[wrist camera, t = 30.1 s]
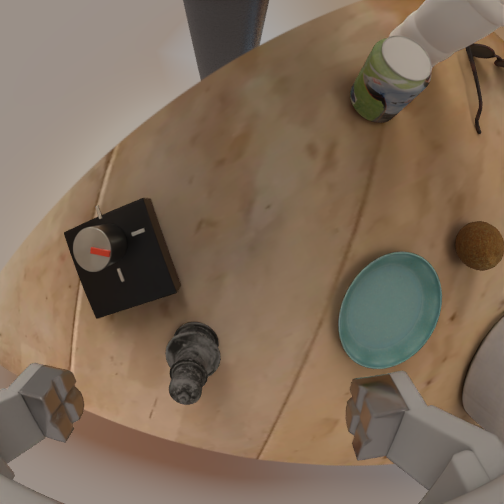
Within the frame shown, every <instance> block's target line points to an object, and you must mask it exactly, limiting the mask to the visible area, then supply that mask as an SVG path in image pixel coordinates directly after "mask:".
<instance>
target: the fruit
mask: <svg viewBox="0 0 504 504" xmlns="http://www.w3.org/2000/svg"><path fill="white" fill-rule="evenodd" d="M456 251H457V255H458V256H459V258H460V259H461V260H462V262H463V263H464V264H465V265H466V266H468V267H470V268H472V269H475V270H480V271H483V270H488V269H491V268H493V267H495V266H496V265H497V264H498V263H499V262H500V261H501V259H502V257H503V253H504V241H503V238H502V236H501V234H500V232H499V231H498V230H497V229H496V228H495V227H494V226H492V225H490V224H488V223H486V222H482V221H478V222H472V223H469V224H467V225H466V226H464V227H463V228H462V229H461V230H460V231H459V233H458V235H457V238H456Z"/></svg>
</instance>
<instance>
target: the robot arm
mask: <svg viewBox="0 0 504 504" xmlns="http://www.w3.org/2000/svg"><path fill="white" fill-rule="evenodd" d="M75 384H76V379H75V377H74V375H73V373H72V372H71V371H69V370H65V369H61V368H56V367H52V366H48V365H42V364H38V363H32V364H30V365H29V366H28V367H27V368H26V369H25V370H24V371H23V372H22V373H21V374H20V375H19V376H18V378H17V379H16V380H15V381H14V382H13V383H12V384H11V385H10V386H9V387H8V388H7V389H5V388H3V389H1V390H0V504H64V503H61V502H59V501H57V500H54V499H52V498H49V497H47V496H45V495H43V494H40V493H38V492H36V491H34V490H32V489H30V488H28V487H25V486H24V485H22V484H20V483H18V482H16V481H14V480H13V478H14V476H15V475H14V472H13V471H12V470H11V469H10V467H9V466H8V465H7V463H9V462H10V461H12V460H13V459H15V458H16V457H18V456H19V455H21V454H22V453H24V452H25V451H27V450H28V449H30V448H31V447H33V446H34V445H36V444H37V443H39V442H40V441H41V440H43V439H44V438H45V437H48V438H51V439H54V440H57V441H61V442H64V443H65V442H66V441H67V439H68V438H69V436H70V435H71V433H72V431H73V429H74V427H73V423H74V422H76V421H78V420H79V419H80V418H81V416H82V414H83V410H84V400H83V396H82V394H81V392H80V391H79V390H78V389H77V388H76V387H75ZM350 392H351V395H352V397H351V398H350V399H349V400H348V401H347V406H346V424H347V428H348V431H349V432H350V433H351V434H353V435H354V439H353V442H352V445H353V448H354V451H355V454H356V457H357V461H358V460H365V459H371V458H377V457H382V456H387V458H388V459H389V460H391V461H392V462H393V463H394V464H396V465H397V466H398V467H399V468H401V469H402V470H403V471H404V472H406V473H407V474H408V475H409V476H411V477H412V478H413V479H415V480H416V481H417V482H418V483H420V484H421V485H422V486H424V487H425V488H426V489H427V490H429V491H428V492H427V493H426V495H425V496H424V497H423V499H422V500H421V501H420V502H419V504H504V445H503V444H502V442H501V441H500V439H499V438H498V437H497V435H495V434H493V433H490V432H488V431H486V430H484V429H481V428H479V427H477V426H475V425H473V424H471V423H468V422H466V421H464V420H462V419H460V418H458V417H456V416H454V415H452V414H449V413H447V412H445V411H443V410H441V409H439V408H437V407H435V406H433V405H430V406H427V404H426V403H425V401H424V400H423V398H422V396H421V395H420V393H419V392H418V390H417V389H416V387H415V385H414V384H413V382H412V381H411V379H410V378H409V376H408V375H407V373H406V372H404V371H398V372H393V373H387V374H383V375H377V376H370V377H362V378H355V379H353V380H352V382H351V386H350Z"/></svg>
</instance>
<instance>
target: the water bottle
mask: <svg viewBox="0 0 504 504" xmlns="http://www.w3.org/2000/svg"><path fill="white" fill-rule="evenodd" d="M500 26H504V0H425V2H424V3H423V4H422V5H421V6H420V7H419V8H418V10H417V11H414V12H413V13H411V14H410V15H409V16H408V17H407V18H406V19H405V20H404V22H403V23H402V24H400V25H399V26H397V27H396V28H395V29H394V30H393V31H392V32H391V33H390V35H389V37H391V36H396V35H398V36H404V37H407V38H410V39H412V40H414V41H415V42H417V43H418V44H419V45H420V46H421V47H422V48H423V49H424V50H425V51H426V52H427V54H428V56H429V58H430V60H431V64H432V67H434V66H435V65H436V64H437V63H438V62H441V61H443V60H445V59H447V58H449V57H450V56H451V55H452V54H453V53H454V52H456V51H459V50H461V49H463V48H465V47H467V46H469V45H471V44H473V43H475V42H477V41H479V40H480V39H482V38H484V37H485V36H487V35H489V34H490V33H492V32H493V31H495V30H496V29H497V28H499V27H500Z"/></svg>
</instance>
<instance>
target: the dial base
mask: <svg viewBox="0 0 504 504" xmlns="http://www.w3.org/2000/svg"><path fill="white" fill-rule="evenodd" d="M95 207H96V210H97V214H98V217H97V218H94V219H92V220H90V221H88V222H86V223H83V224H81V225H79V226H77V227H75V228H73V229H70V230H68V231H66V232H64V235H65V238H66V241H67V244H68V247H69V250H70V253H71V256H72V259H73V262H74V264H75V267H76V270H77V273H78V275H79V278H80V280H81V283H82V286H83V288H84V291H85V293H86V296H87V298H88V300H89V303H90V305H91V307H92V310H93V312H94V314H95V317H96V319H97V318H100V317H104V316H107V315H110V314H113V313H116V312H119V311H122V310H125V309H129V308H132V307H135V306H138V305H141V304H144V303H147V302H150V301H153V300H156V299H159V298H162V297H166V296H169V295H172V294H175V293H177V292H178V290H179V288H180V286H181V283H180V281H179V278H178V275H177V273H176V270H175V268H174V265H173V262H172V259H171V257H170V254H169V251H168V248H167V246H166V243H165V240H164V237H163V234H162V232H161V229H160V226H159V223H158V220H157V217H156V214H155V211H154V208H153V205H152V202H151V199H147V198H142V199H139V200H137V201H134V202H132V203H130V204H127V205H125V206H122V207H120V208H118V209H115V210H113V211H111V212H108V213H106V214H104V215H102V214H101V211H100V208H99V205H97V206H95ZM104 224H113V225H116V226H118V227H119V228H120V229H121V230H122V231H123V233H124V234H125V237H126V240H127V249H126V252H125V254H124V256H123V257H122V258H121V259H120V260H119V261H117V262H115V263H113V264H112V265H110V266H108V267H106V268H104V269H102V270H100V271H97V272H90V271H87V270H85V269H83V268H82V267H81V266H80V265H79V264H78V263H77V261H76V259H75V257H74V253H73V244H74V240H75V238H76V236H77V234H78V233H79V232H80V231H81V230H83V229H84V228H87V227H93V226H98V225H104Z"/></svg>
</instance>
